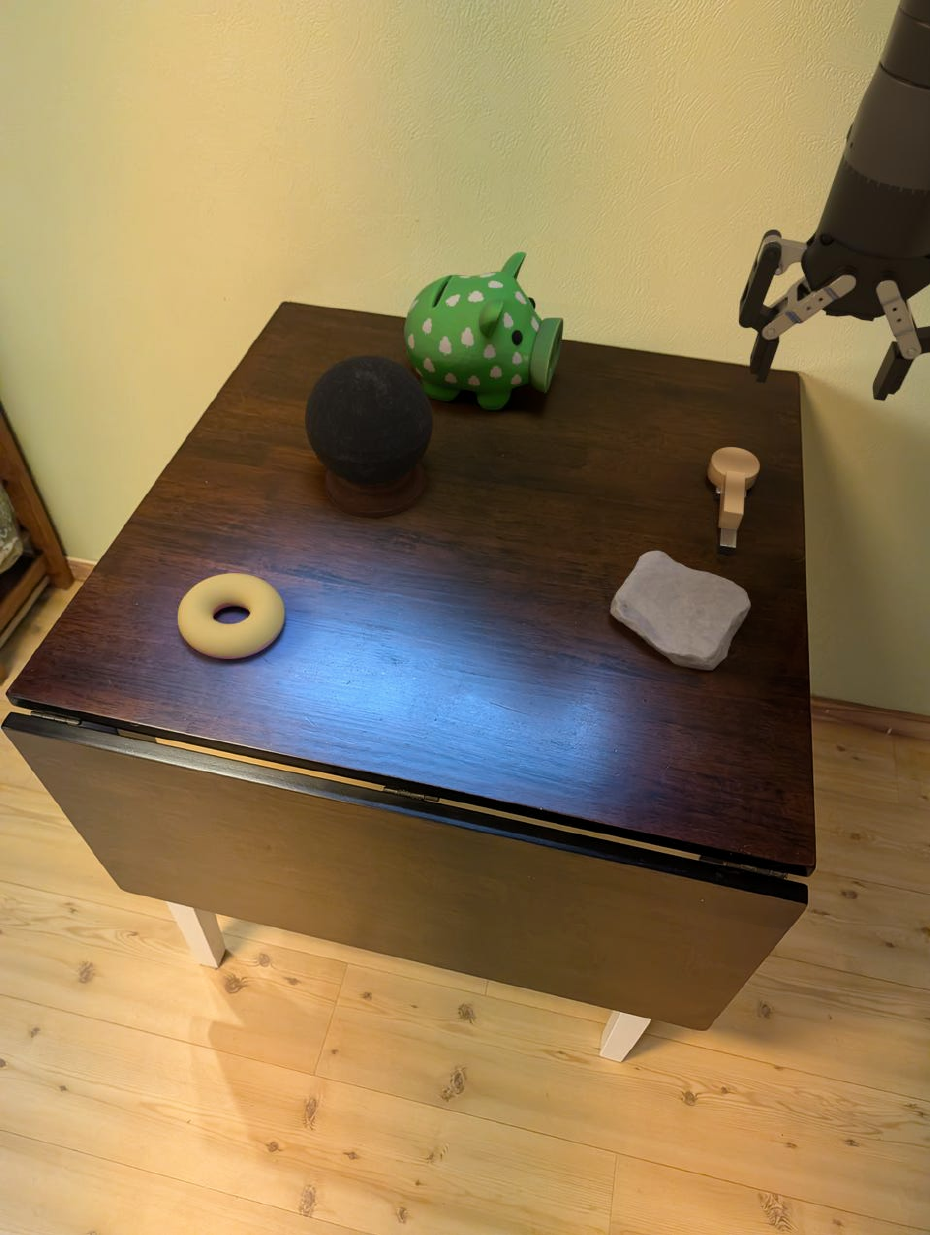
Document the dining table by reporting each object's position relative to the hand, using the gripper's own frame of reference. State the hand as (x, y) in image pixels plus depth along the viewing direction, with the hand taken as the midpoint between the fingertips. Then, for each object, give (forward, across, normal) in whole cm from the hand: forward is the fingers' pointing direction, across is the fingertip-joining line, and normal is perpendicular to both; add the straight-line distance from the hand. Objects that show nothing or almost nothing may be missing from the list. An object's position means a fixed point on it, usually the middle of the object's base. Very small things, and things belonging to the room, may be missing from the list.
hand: (818, 385), depth 63 cm
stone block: (+26, -5, -3) cm, 27 cm away
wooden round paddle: (+25, -1, +15) cm, 29 cm away
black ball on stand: (+26, -39, +9) cm, 48 cm away
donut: (+26, -46, -14) cm, 55 cm away
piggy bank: (+26, -32, +29) cm, 50 cm away
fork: (+26, -1, +15) cm, 30 cm away
